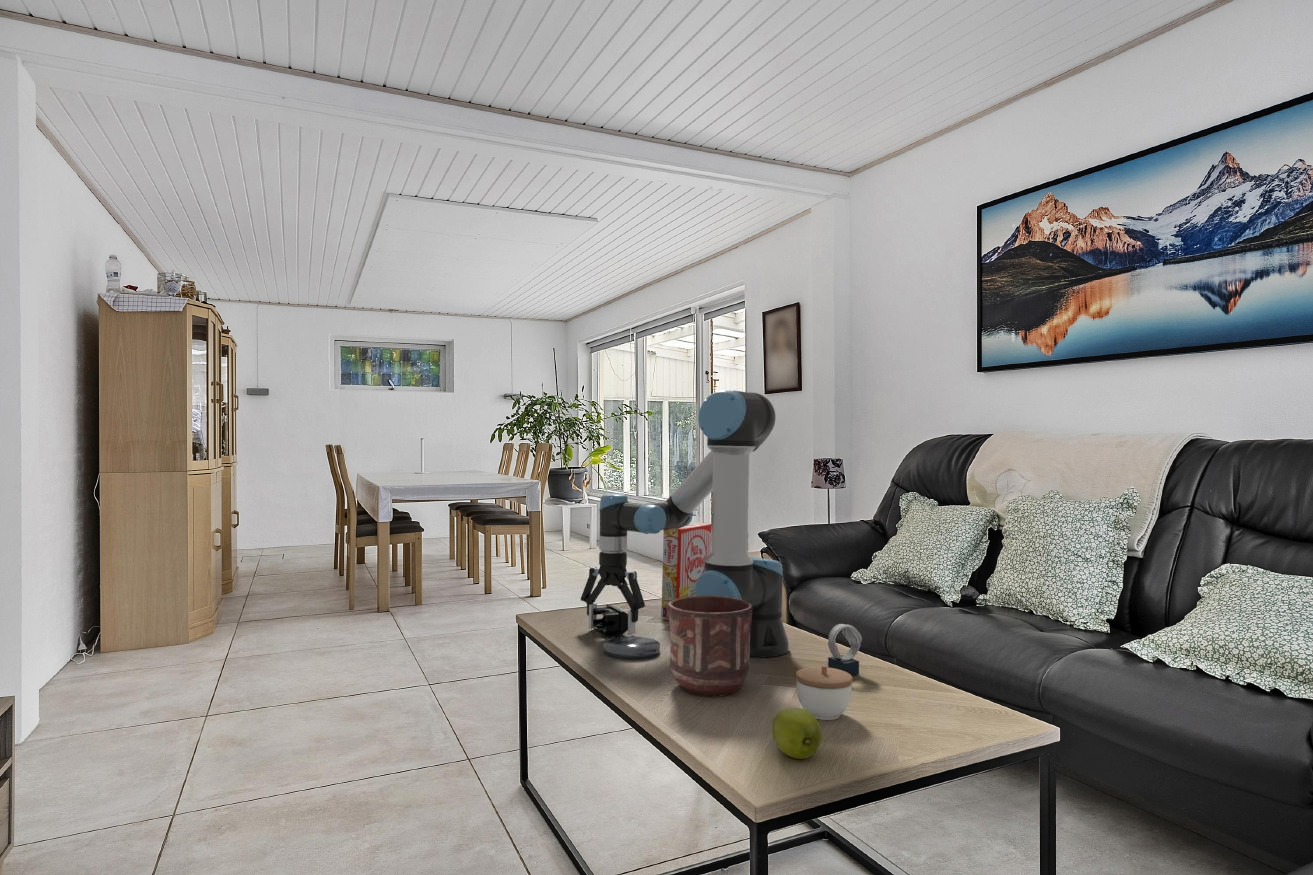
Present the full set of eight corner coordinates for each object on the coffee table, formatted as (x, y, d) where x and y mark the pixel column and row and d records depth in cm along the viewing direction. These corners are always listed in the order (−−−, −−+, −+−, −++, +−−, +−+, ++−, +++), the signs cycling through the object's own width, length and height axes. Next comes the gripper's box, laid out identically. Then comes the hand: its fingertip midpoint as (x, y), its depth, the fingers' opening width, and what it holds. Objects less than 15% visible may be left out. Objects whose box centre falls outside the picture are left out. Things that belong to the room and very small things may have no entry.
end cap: (631, 635, 207) (631, 610, 207) (606, 638, 204) (607, 612, 204) (616, 627, 216) (616, 603, 216) (592, 629, 213) (592, 605, 213)
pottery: (706, 669, 178) (706, 591, 178) (767, 688, 165) (768, 603, 165) (650, 687, 166) (651, 603, 165) (712, 708, 153) (713, 617, 153)
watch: (865, 673, 177) (866, 625, 177) (838, 678, 173) (839, 629, 173) (848, 667, 182) (849, 620, 182) (821, 671, 178) (822, 623, 178)
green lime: (793, 771, 124) (794, 721, 124) (762, 750, 132) (762, 703, 132) (832, 763, 127) (833, 714, 127) (799, 743, 136) (800, 697, 136)
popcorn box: (678, 622, 224) (680, 528, 224) (660, 619, 227) (661, 527, 227) (710, 609, 241) (711, 522, 241) (692, 607, 244) (694, 521, 244)
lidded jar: (841, 728, 143) (842, 677, 143) (786, 716, 148) (787, 668, 148) (859, 711, 152) (859, 664, 152) (807, 701, 158) (807, 655, 158)
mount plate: (669, 649, 195) (669, 641, 195) (642, 662, 182) (642, 654, 182) (622, 641, 202) (622, 633, 202) (592, 654, 189) (592, 645, 189)
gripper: (658, 553, 208) (657, 633, 208) (584, 545, 219) (582, 622, 219) (644, 556, 201) (643, 639, 201) (568, 548, 213) (567, 627, 213)
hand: (611, 630), depth 210 cm, fingers closed on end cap, 12 cm apart
